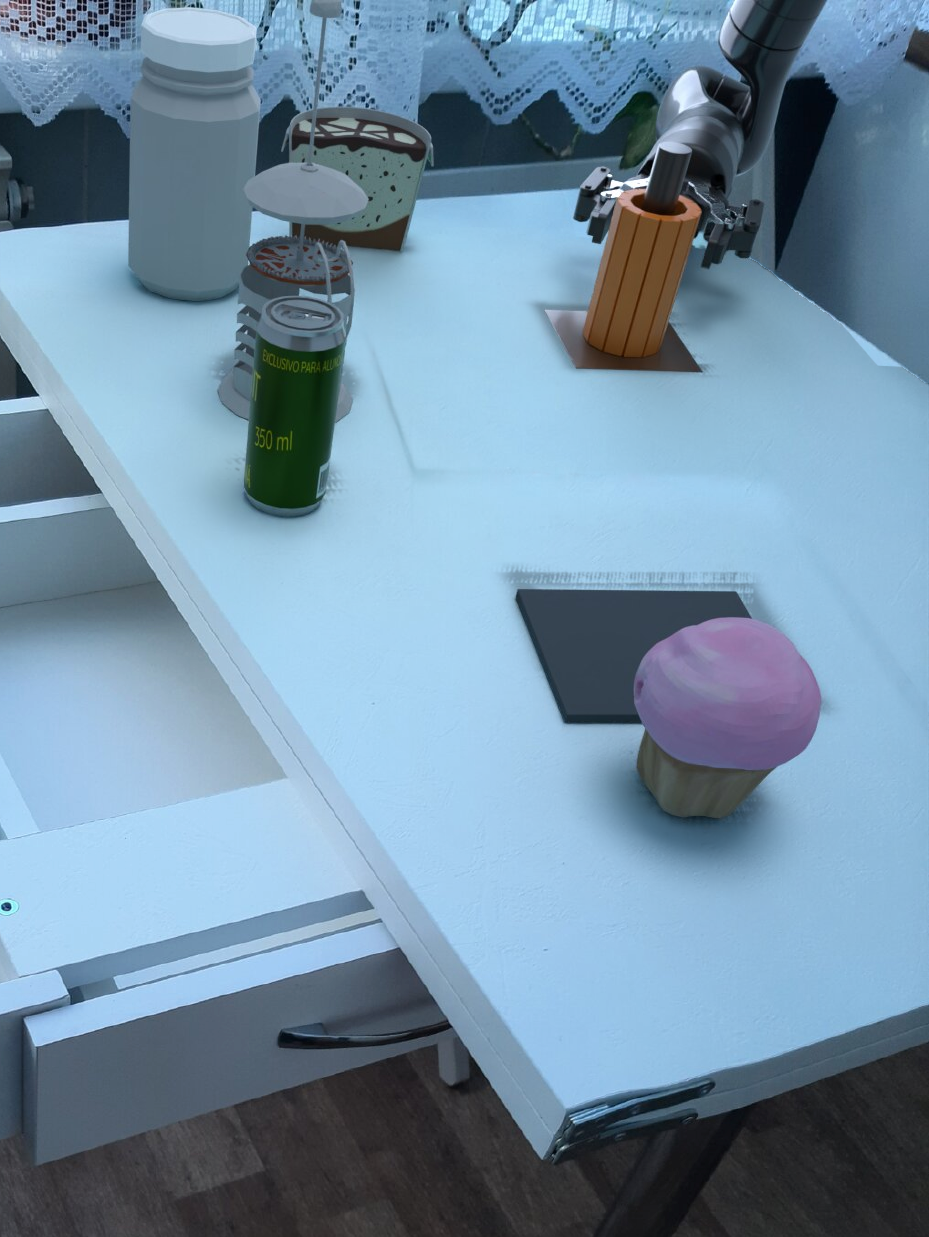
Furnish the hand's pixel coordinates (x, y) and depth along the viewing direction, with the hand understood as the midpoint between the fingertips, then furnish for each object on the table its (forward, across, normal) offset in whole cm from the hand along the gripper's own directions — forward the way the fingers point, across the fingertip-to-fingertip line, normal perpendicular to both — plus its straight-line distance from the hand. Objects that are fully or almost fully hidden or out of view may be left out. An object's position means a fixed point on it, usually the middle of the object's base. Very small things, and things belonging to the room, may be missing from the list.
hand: (653, 243), depth 106 cm
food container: (-4, -26, +7) cm, 27 cm away
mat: (+43, +10, +7) cm, 44 cm away
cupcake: (+54, +13, +8) cm, 57 cm away
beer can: (+37, -16, +7) cm, 41 cm away
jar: (+9, -34, +7) cm, 36 cm away
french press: (+24, -20, +7) cm, 32 cm away
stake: (+4, 0, +7) cm, 8 cm away
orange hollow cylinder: (+4, 0, +6) cm, 7 cm away
